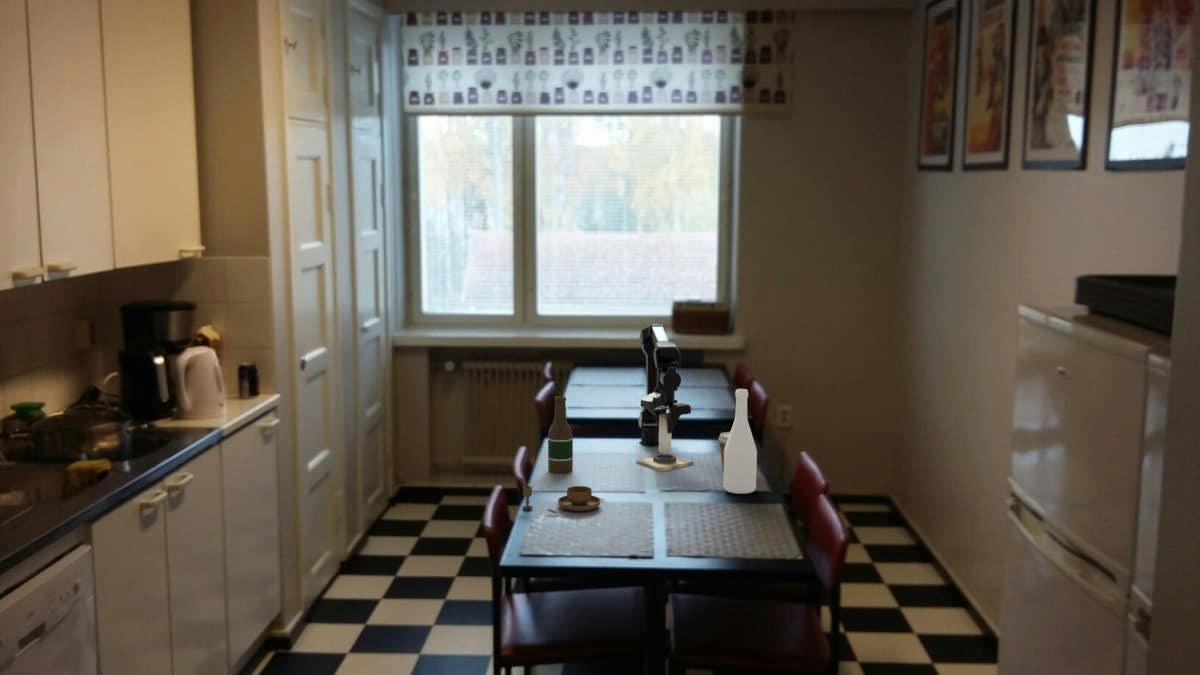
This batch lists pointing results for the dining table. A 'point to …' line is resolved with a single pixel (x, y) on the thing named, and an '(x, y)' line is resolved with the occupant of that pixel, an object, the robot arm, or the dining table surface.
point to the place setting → (570, 499)
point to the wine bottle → (740, 451)
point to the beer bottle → (560, 441)
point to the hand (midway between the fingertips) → (665, 432)
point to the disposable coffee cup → (723, 444)
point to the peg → (664, 435)
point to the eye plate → (665, 466)
